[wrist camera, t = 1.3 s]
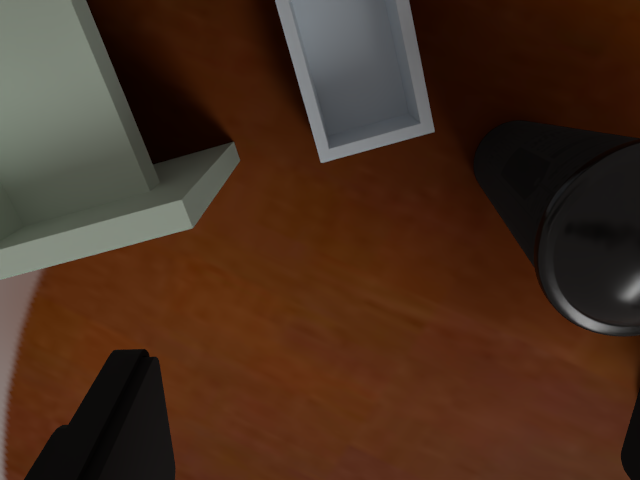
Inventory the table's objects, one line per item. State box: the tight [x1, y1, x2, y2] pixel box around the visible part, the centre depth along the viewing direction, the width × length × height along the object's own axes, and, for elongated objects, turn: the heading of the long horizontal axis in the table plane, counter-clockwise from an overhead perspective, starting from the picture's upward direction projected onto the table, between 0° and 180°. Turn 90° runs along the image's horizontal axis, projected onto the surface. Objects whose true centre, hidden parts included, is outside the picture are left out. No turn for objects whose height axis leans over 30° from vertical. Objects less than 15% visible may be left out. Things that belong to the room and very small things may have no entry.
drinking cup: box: [474, 121, 640, 336], centre depth 21 cm, size 8×8×20 cm
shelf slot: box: [0, 0, 240, 280], centre depth 23 cm, size 10×15×12 cm, turn 16°
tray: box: [275, 0, 435, 163], centre depth 26 cm, size 14×6×4 cm, turn 16°
